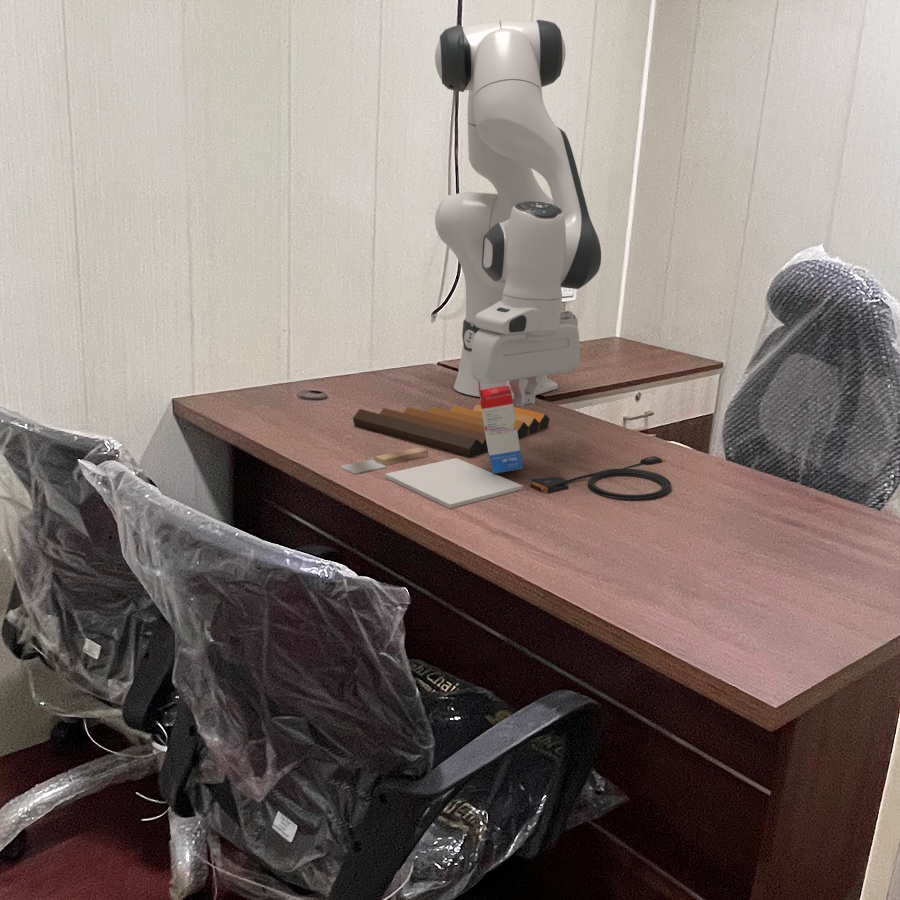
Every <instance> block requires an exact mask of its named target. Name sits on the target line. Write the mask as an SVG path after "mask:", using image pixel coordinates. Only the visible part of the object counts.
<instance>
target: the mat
mask: <svg viewBox="0 0 900 900" xmlns="http://www.w3.org/2000/svg"><path fill="white" fill-rule="evenodd" d="M384 478H385V479H387V480H389V481H391V482H393V483H395V484H398V485H400V486H402V487H404V488H406V489H407V490H410V491H412V492H414V493H416V494H418V495H421V496H423V497H425V498H427V499H429V500H431V501H433V502H435V503H436V504H437V503H438V504H440V505H442V506H443V507H446V508H448V509H453V508H457V507H461V506H464V505H465V506H466V505H468V504H469V505H470V504H472V503H476V502H480V501H484V500H487V499H492V498H495V497H498V496H502V495H505V494H506V495H507V494H511V493H514V492H517V491H522V490H523V484H519V483H518V482H515V481H513V480H510V479H508V478H506V477H503V476H500V475H497V473H492V471H488V470H486V469H484V468H481V467H478V466H476V465H474V464H472V463H469V462H467V461H464V460H461V459H459V458H456V457H455V458H451V459H445V460H441V461H437V462H433V463H427V464H424V465H419V466H414V467H409V468H404V469H402V470H396V471H392V472H386V473H384Z"/></svg>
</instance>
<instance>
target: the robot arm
mask: <svg viewBox="0 0 900 900" xmlns="http://www.w3.org/2000/svg"><path fill="white" fill-rule="evenodd" d="M565 45H566V44H565V40H564V37H563V35H562V31H561V29H560V28H559V26H558V25H557V23H556V22H552V21H548V20H544V19H543V20H542V19H536V21H530V20H518V19H514V20H513V19H512V20H511V19H507V20H506V19H503V20H498V21H489V22H481V23H476V24H470V25H465V26H462V24H458V25H453V26H451V27H448V28H446V29H444V31H443V32H441V34H440V35H439V40H438V42H437V45H436V49H435V52H434V53H435V55H434V62H435V68H436V72H437V74H438V77H439V78H440V80H441V84H442V85H443V86H444V87H445V88H446V89H448V90H451V91H454V92H461V93H465V91H468V96H467V97H468V98H467V143H468V146H467V147H468V149H467V150H468V161H469V163H470V165H471V167H472V169H473V170H474V171H475V173H477V174H478V175H480V176H482V177H483V178H485V179H486V180H488V182H490V183H491V185H492V186H493V187H494V189H495V190H496V193H487V192H476V191H475V192H473V191H467V192H458V193H453V194H449V195H446V196H445V197H444V198H443V199H442V200H441V201H440V203H439V205H438V206H437V209H436V211H435V217H434V224H435V229H436V232H437V235H438V237H439V239H440V240H441V241H442V243H444V244H445V245H446V246H448V248H449V249H450V250H451V251H452V252H453V254H454V255H455V257H456V258H457V260H458V262H459V264H460V267H461V269H462V273H463V276H464V277H463V278H464V281H465V318H464V319H463V320H462V321H463V322H462V334H461V337H462V343H463V345H462V348H461V349H462V350H461V356H460V361H459V365H458V371H457V376H456V379H455V381H454V384H453V389H454V390H455V391H457V392H458V393H461V394H464V395H469V396H473V397H479V398H480V395H479V387H478V381H480V389H481V390H484V389H489V388H494V387H500V386H509V387H510V390H511V394H512V400H513V405H514V406H518V407H523V406H530V405H534V404H535V402H536V396H537V395H540V394H544V393H547V392H550V391H555V390H557V389H558V383H557V382H556V381H554V380H551V379H550V378H548V375H553V374H559V373H564V372H565V373H566V372H571V371H573V372H574V371H575V370H576V369H577V367H578V365H579V363H580V351H581V350H580V332H579V331H580V330H579V327H578V325H579V319H578V318H577V316H576V315H575V314H574V313H573V312H572V311H570V310H565V311H563V312H562V303H563V302H562V301H563V291H562V288H563V289H574V290H579V289H581V288H582V287H584V286H586V285H587V284H588V283H589V282H590V281H592V280H593V279H594V278H595V276H596V275H597V274H598V273H599V271H600V268H601V264H602V248H601V242H600V239H599V236H598V234H597V232H596V230H595V227H594V224H593V223H592V220H591V216H590V213H589V209H588V206H587V202H586V201H587V200H586V198H585V195H584V191H583V186H582V183H581V179H580V175H579V172H578V171H579V170H578V167H577V164H576V160H575V156H574V153H573V150H572V146H571V144H570V141H569V138H568V135H567V134H566V132H565V131H564V130H563V129H561V128H560V127H558V126H557V125H556V123H555V122H554V121H553V119H552V118H551V117H550V115H549V113H548V110H547V109H546V106H545V103H544V102H545V101H544V99H543V91H542V89H543V87H546V86H550V85H552V84H553V83H555V82H556V81H557V80H558V78H559V77H561V75H562V70H563V68H564V65H565V61H566V52H567V51H566V46H565ZM533 171H535V172H537V173H538V174H539V175H540V176H541V177H543V178H544V179H545V182H546V183H547V185H548V187H549V190H550V194H551V197H549V196H548V194H547V193H546V192H545V191H544V190H543V188H542V187H541V186H540V183H538V181H537V179H536V176H535V175H534V173H533Z"/></svg>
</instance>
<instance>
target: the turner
mask: <svg viewBox="0 0 900 900" xmlns="http://www.w3.org/2000/svg"><path fill="white" fill-rule="evenodd" d="M374 457H375V459H368V460H363V461H359V462H353V463H349V464H344V465H340V466H339V468H340V469H342V470H344V471H346V472H347V473H349V474H352V475H354V476H356V475H361V474H364V473H370V472H374V471H380V470H383V469H387V468H388V466H390V465H395V464H400V463H404V462H408V461H412V460H417V459H421V458H422V459H423V458H427V457H429V450H428V449H426V448H424V447H422V446H421V447H420V446H419V447H416V448H408V449H405V450H399V451H395V452H391V453H389V452H388V453H385V454H380V455H376V456H374Z"/></svg>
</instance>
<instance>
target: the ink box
mask: <svg viewBox="0 0 900 900" xmlns="http://www.w3.org/2000/svg"><path fill="white" fill-rule="evenodd" d="M478 387H479V395H480V397H479V404H480V405H481V409H482V416H483V422H484V429H485V435H486V441H487V447H488V451H487V453H488V457H489V461H490V462H489V463H490V467H491V473H493V474H500V473H506V472H512V471H517V470H522V469H524V466H523V465H524V463H523V459H522V452H521V447H520V439H519V438H518V431H517V425H516V419H515V412H514V407H515V405H514V400H513V399H512V394H511V390H510V387H509V386H500V387H494V388H489V389H484V390H481V389H480V381H478Z"/></svg>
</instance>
